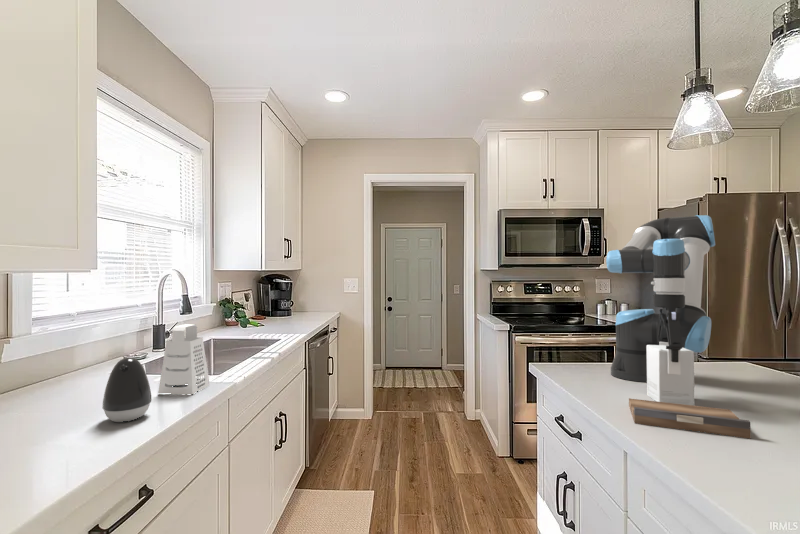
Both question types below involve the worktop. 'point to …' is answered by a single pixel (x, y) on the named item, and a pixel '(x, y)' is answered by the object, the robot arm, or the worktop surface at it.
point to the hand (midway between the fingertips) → (669, 368)
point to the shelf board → (689, 418)
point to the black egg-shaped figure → (127, 391)
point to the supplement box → (670, 376)
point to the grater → (184, 362)
